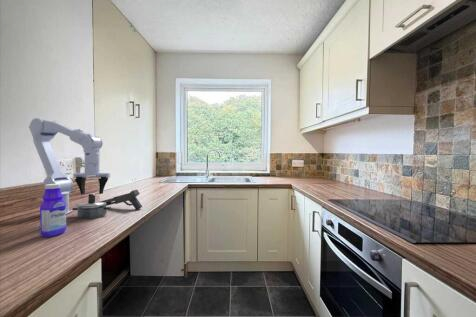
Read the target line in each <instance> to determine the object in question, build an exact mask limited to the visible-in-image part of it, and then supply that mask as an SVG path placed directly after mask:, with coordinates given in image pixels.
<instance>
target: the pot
mask: <svg viewBox="0 0 476 317" xmlns="http://www.w3.org/2000/svg"><path fill="white" fill-rule="evenodd" d="M111 209H112V207H111V206H106V205H105V206H102V207H100V208H95V209H81V207H72V209H71V210H73V211H77V212H76V213H77V216H76V217H77V219H81V220H90V219H91V220H93V219H98V218H102V217H104V216H107V210H111Z"/></svg>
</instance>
